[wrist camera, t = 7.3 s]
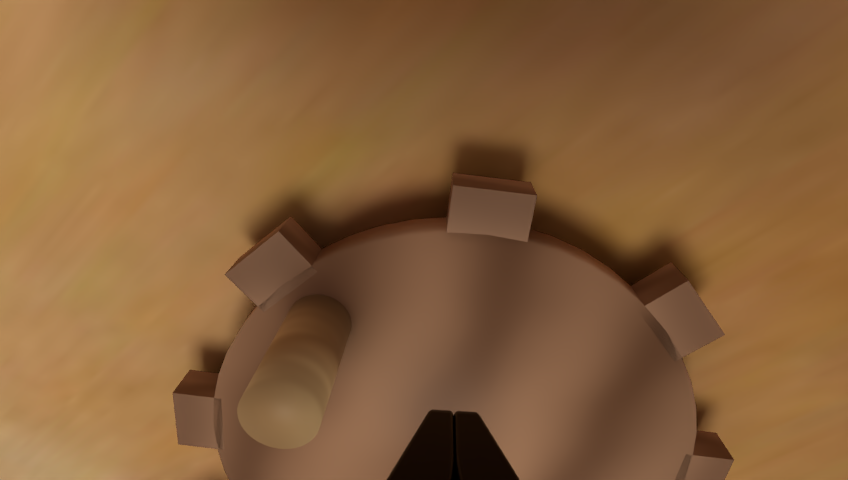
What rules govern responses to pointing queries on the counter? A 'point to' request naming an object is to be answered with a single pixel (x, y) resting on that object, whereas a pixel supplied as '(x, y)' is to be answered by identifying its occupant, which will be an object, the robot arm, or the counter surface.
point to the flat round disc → (454, 352)
